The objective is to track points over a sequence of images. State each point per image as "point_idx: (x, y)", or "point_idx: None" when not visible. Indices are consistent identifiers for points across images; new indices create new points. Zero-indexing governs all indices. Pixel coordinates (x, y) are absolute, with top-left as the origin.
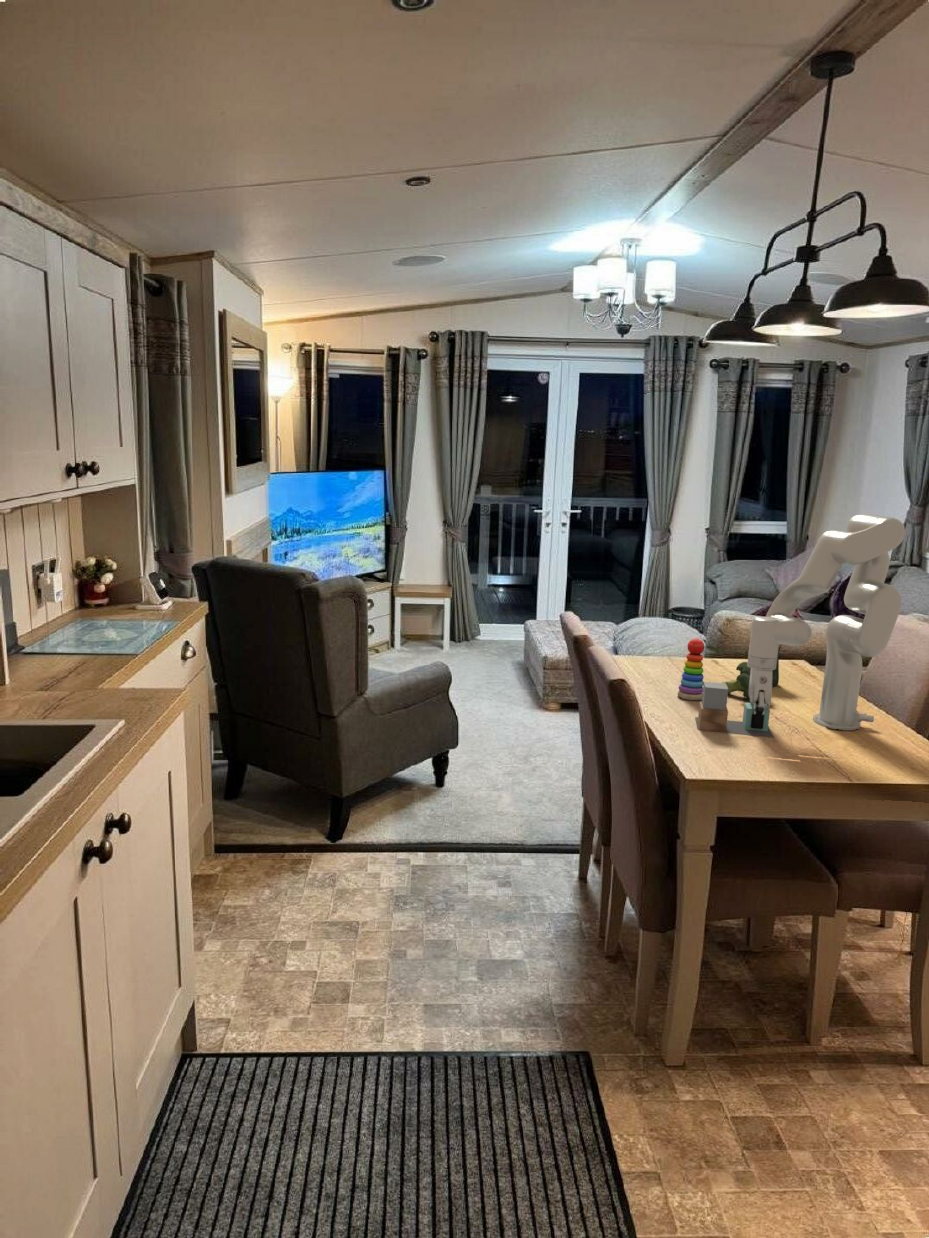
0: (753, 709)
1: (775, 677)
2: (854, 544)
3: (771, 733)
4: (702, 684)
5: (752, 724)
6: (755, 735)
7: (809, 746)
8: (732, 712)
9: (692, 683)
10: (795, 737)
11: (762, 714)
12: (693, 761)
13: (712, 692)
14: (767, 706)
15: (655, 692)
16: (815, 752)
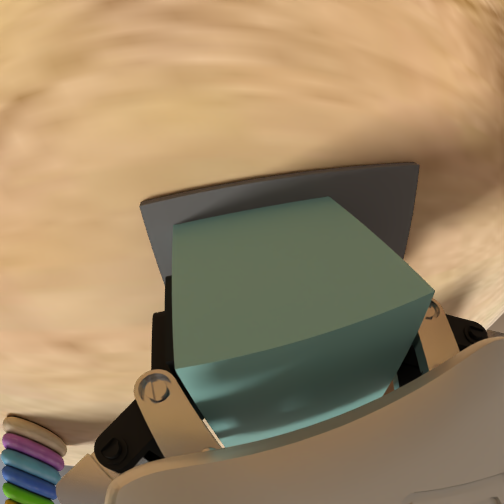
0: (394, 379)
1: None
2: None
3: (360, 172)
4: (21, 461)
5: None
6: (401, 251)
7: (448, 16)
8: (48, 368)
9: (53, 478)
10: (350, 23)
11: (431, 309)
12: (489, 318)
13: None
14: (282, 348)
15: (72, 460)
16: (486, 31)
